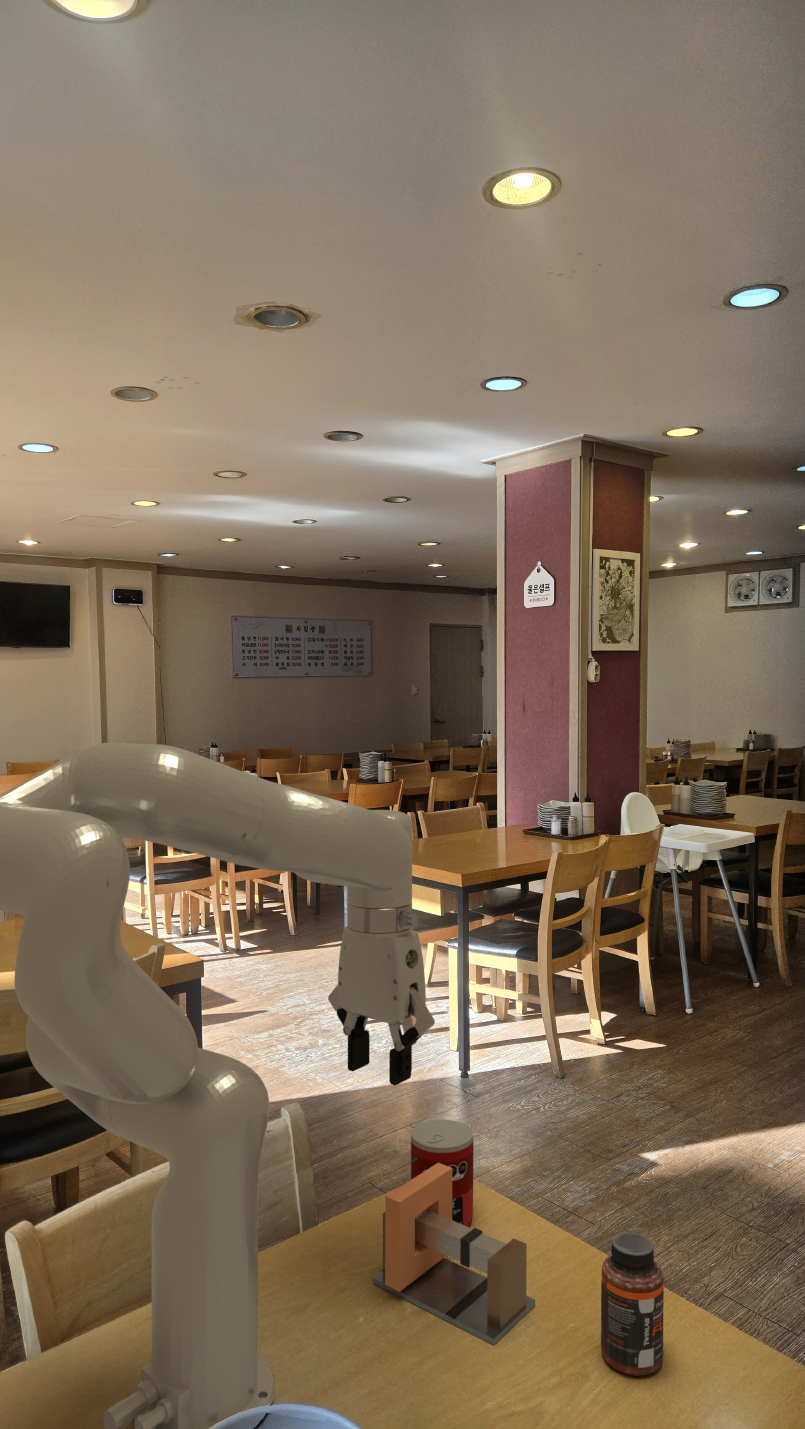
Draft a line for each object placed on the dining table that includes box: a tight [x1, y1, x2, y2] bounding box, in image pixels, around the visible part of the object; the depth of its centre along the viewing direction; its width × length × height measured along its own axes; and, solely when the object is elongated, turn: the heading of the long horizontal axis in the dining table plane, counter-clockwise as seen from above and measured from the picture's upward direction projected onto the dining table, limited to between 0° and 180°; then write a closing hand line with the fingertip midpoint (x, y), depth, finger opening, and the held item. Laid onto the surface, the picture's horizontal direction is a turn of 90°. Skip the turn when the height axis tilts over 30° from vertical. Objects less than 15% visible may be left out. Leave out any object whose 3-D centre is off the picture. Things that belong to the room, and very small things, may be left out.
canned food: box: [410, 1119, 474, 1228], centre depth 116 cm, size 8×8×11 cm
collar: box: [384, 1163, 452, 1292], centre depth 104 cm, size 2×10×10 cm, turn 141°
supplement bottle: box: [600, 1232, 665, 1377], centre depth 91 cm, size 6×6×11 cm
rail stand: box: [371, 1209, 536, 1346], centre depth 101 cm, size 16×8×7 cm, turn 51°
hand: (379, 1072), depth 108 cm, fingers open, 5 cm apart
